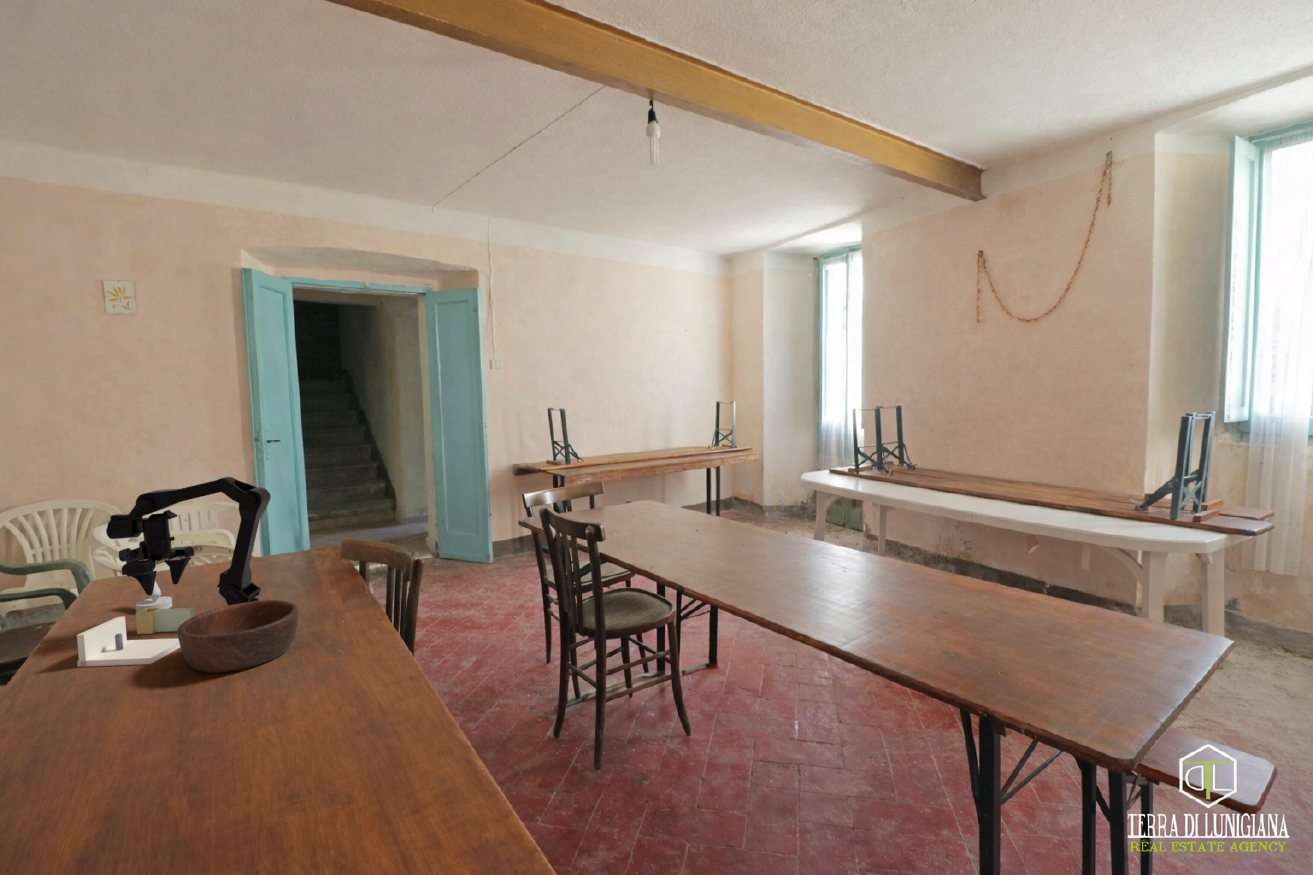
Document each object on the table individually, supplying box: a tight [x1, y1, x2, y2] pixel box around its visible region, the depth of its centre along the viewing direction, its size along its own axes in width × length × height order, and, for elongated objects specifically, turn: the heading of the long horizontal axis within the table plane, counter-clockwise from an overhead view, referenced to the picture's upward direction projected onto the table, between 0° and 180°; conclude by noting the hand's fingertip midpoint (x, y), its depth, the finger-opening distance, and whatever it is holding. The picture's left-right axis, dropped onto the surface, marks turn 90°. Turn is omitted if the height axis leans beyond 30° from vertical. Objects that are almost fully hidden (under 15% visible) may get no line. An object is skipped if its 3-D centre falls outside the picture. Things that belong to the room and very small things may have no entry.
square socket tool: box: [135, 607, 196, 635], centre depth 166 cm, size 14×4×6 cm, turn 94°
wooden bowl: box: [176, 599, 300, 674], centre depth 149 cm, size 25×25×10 cm
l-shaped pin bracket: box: [76, 615, 181, 668], centre depth 150 cm, size 17×12×8 cm
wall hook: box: [135, 580, 173, 614], centre depth 183 cm, size 9×10×10 cm
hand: (163, 589), depth 166 cm, fingers open, 9 cm apart
